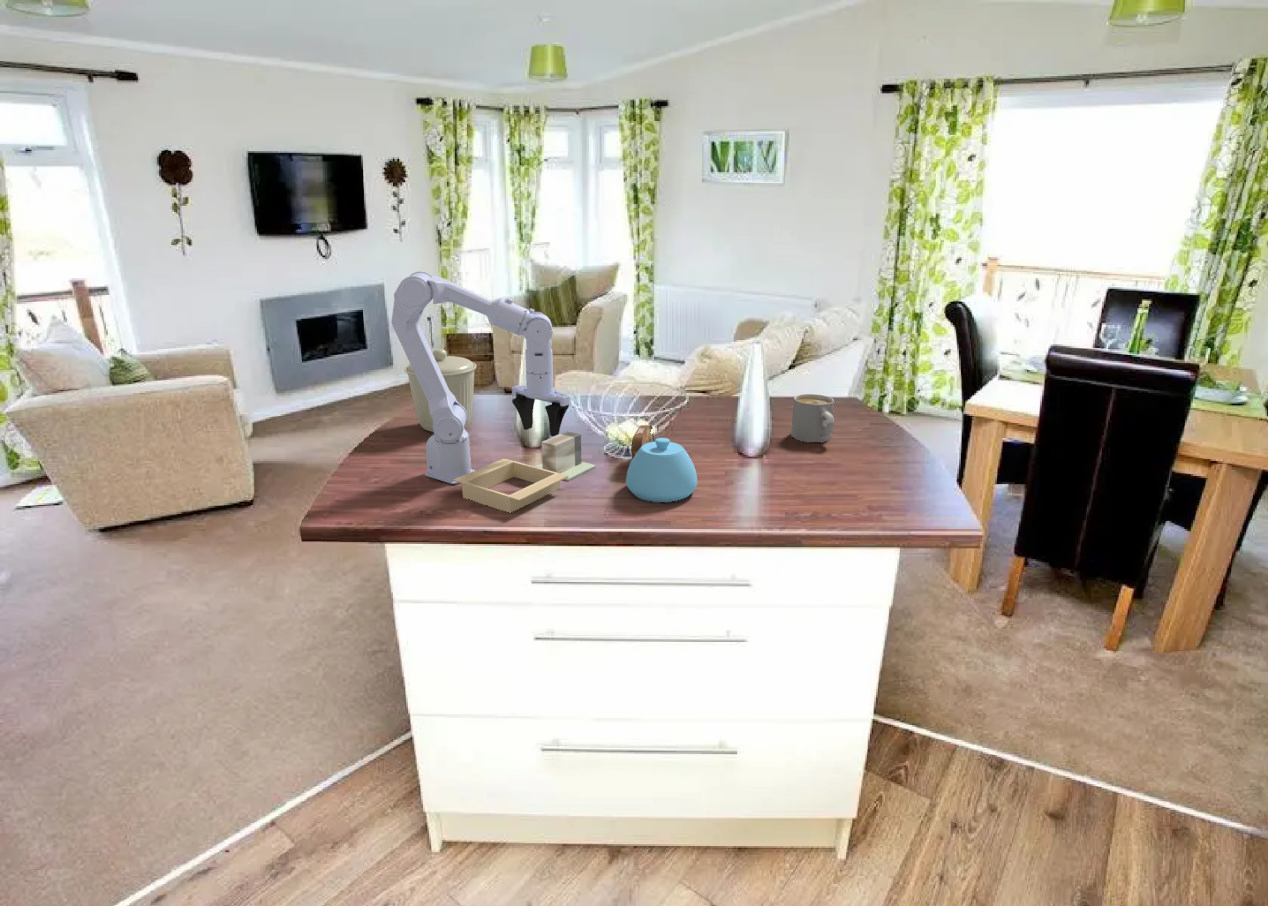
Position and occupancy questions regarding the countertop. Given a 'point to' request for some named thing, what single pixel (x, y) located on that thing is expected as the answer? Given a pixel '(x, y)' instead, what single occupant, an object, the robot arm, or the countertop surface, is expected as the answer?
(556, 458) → the box
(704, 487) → the countertop surface
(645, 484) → the sugar bowl
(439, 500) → the countertop surface
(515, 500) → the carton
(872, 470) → the countertop surface
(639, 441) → the tin
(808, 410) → the coffee mug
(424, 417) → the canister
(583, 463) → the mat
